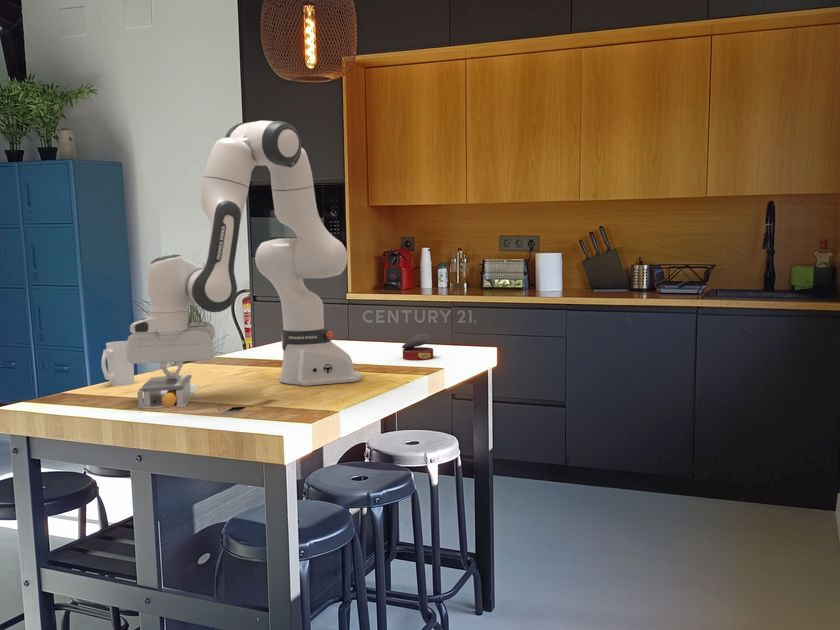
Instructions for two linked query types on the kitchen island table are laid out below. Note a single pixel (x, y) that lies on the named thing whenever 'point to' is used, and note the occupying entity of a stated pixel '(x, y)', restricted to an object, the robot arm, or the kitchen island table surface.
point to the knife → (233, 410)
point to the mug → (117, 364)
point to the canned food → (417, 348)
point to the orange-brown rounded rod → (169, 398)
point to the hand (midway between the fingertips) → (172, 380)
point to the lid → (165, 384)
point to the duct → (155, 397)
